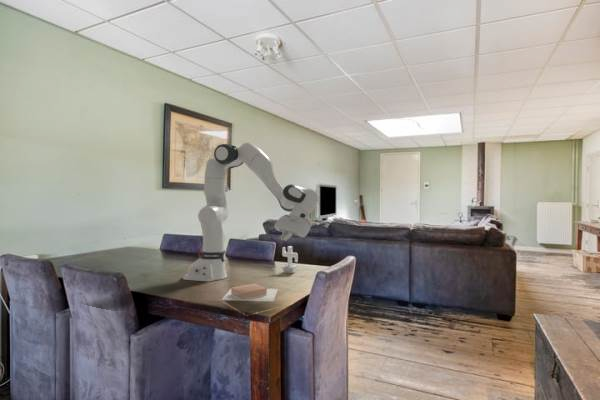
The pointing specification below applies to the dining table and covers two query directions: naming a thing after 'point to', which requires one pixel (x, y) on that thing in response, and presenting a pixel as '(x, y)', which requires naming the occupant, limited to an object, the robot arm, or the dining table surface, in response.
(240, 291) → the tile
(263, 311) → the dining table surface
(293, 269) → the figurine
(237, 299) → the mat
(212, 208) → the robot arm
